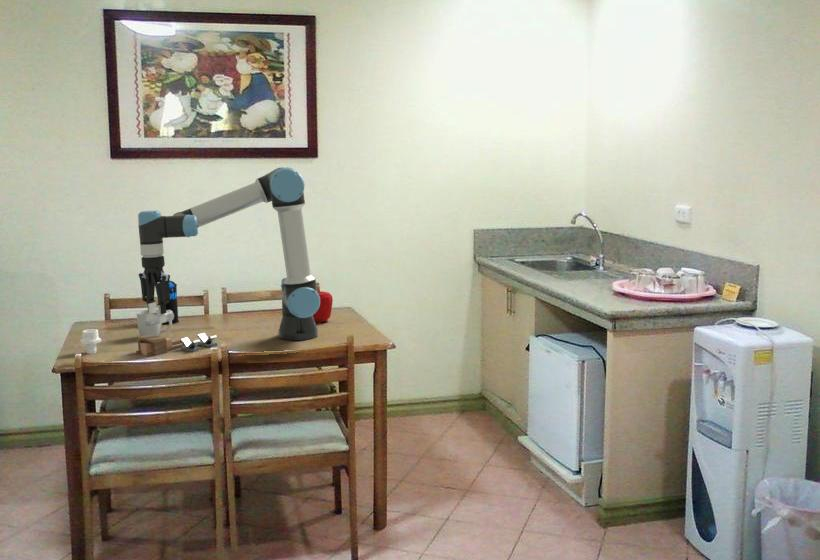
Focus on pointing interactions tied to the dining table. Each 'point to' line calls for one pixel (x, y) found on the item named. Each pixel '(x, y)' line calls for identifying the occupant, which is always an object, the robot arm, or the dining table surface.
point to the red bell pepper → (323, 307)
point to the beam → (157, 344)
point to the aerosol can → (172, 302)
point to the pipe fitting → (90, 340)
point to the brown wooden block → (148, 346)
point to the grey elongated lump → (153, 317)
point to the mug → (149, 329)
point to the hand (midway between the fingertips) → (157, 321)
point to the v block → (198, 343)
